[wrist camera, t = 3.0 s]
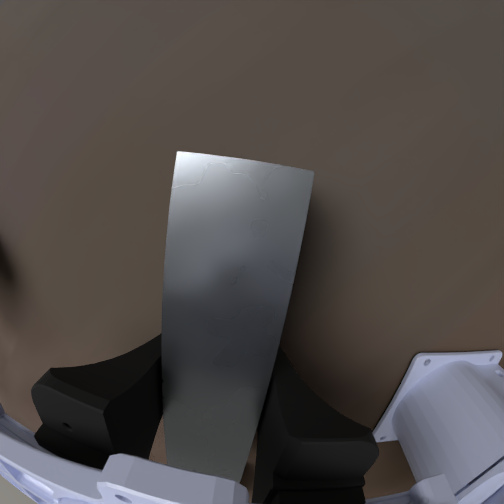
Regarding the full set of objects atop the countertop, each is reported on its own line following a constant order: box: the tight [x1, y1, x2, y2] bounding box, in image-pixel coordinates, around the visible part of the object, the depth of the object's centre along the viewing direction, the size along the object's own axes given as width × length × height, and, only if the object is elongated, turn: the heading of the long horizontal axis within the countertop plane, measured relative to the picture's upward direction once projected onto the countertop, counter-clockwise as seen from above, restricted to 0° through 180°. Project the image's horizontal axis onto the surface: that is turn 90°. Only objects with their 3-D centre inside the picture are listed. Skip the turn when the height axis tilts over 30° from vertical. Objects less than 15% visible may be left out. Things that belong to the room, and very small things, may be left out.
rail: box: [162, 151, 314, 484], centre depth 11 cm, size 4×16×5 cm, turn 171°
